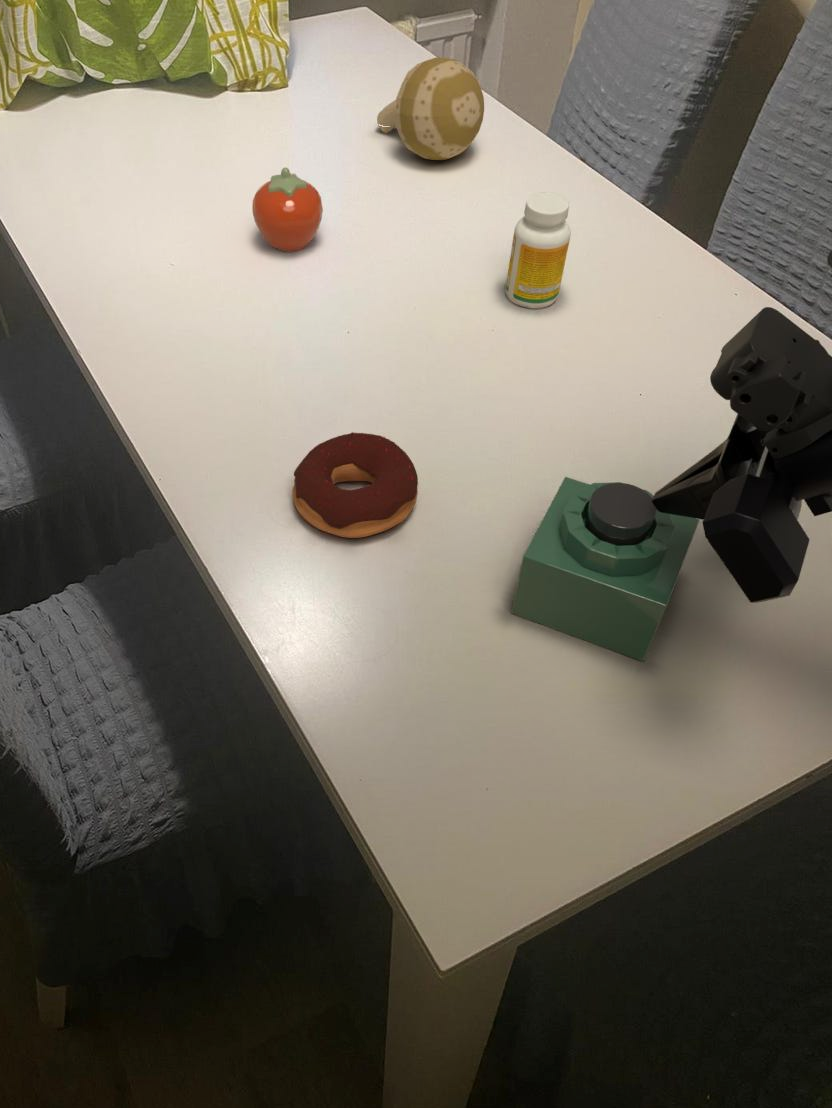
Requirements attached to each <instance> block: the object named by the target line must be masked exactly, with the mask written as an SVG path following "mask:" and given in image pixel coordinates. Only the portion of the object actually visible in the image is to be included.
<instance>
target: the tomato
mask: <svg viewBox="0 0 832 1108" xmlns="http://www.w3.org/2000/svg"><path fill="white" fill-rule="evenodd" d="M251 206H252V208H251V209H252V216H253V220H254V223H255V225H256V228H257V229H258V232H259V234H261V236H262V238H263V239H264V240H265V241H266V243H267V244H269V245H270V246H271V247H273V248H274V249H276V250H279V251H281V252H286V253H295V252H298V251H301V250H303V249H304V248H306V247H307V245H309V244H310V243H311V241H312V240H313V238H314V237H315V236H316V234H317V232H318V230H319V228H320V225H321V223H322V218H323V213H324V212H323V211H324V208H323V202H322V196H321V195H320V192H319V191H318V190H317V189H316V188H315V186H313V185H312V184H311V183H309V182H308V181H306V180H303V179H302V178H300V177H299V176H298V175H297V174H296V173H292V172H291V171H290V169H289V168H288V167H283V168H282V169H281V171H280V174H275V175H271V177H270V180H269V181H267V182H265V183H263V184H262V185H261V186H260V187H259V188H258V189H257V190H256V192H255V194H254V196H253V199H252V205H251Z"/></svg>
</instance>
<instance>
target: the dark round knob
mask: <svg viewBox="0 0 832 1108" xmlns="http://www.w3.org/2000/svg"><path fill="white" fill-rule="evenodd" d="M608 483H609V482H608ZM642 489H643V488H641V487H638V486H637V485H634V484H631V483H626V482H622V483H621V482H620V483H609V484H605V485H603V486H601V487H599V488H597V489H596V490H595V491H594V492H593V494H592V495H591V498H590V502H589V505H588V509H587V513H586V517H585V522H586V526H587V528H588V530H589V531H590V532H591V533H592V534H593V535H594V536H595V537H597V538H598V539H599V540H602V541H605V542H608V543H611V544H614V545H617V546H624V545H635V544H638V543H640V542H642V541H643V540H644V539H645V538H646V537H647V536H648V534H649V532H650V529H651V526H652V524H653V521H654V518H655V515H656V508H655V506H654V505H653V503H652V499H653V498H652V497H651V496H650V495H649V494H648V493H647V492H645V491H644V490H645V489H644V490H642Z"/></svg>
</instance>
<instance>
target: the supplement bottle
mask: <svg viewBox="0 0 832 1108" xmlns="http://www.w3.org/2000/svg"><path fill="white" fill-rule="evenodd" d="M569 210H570V201H569V200H568V199H567V198H566V197H565V196H564V195H561V194H559V193H555V192H549V191H548V192H547V191H546V192H545V191H544V192H537V193H533V194H531V195H530V196H528V197H527V199H526V202H525V206H524V210H523V211H524V212H523V215H524V216H522V217H521V218H520V219H519V220H518V221H517V222H516V224H515V227H514V232H513V237H512V241H511V242H512V243H511V250H510V255H509V263H508V269H507V276H506V284H505V294H506V296H507V298H508V299H509V300H510V301H511V302H512V303H514V304H515V305H518V306H520V307H524V308H527V309H542V308H546V307H549V306H551V305H552V304H554V303H555V302H556V300H557V299H558V298H559V294H560V289H561V285H562V279H563V274H564V270H565V265H566V259H567V256H568V255H567V254H568V250H569V246H570V241H571V236H572V235H571V227H570V224H568V222H567V221H566V220H567V219H568V216H569Z"/></svg>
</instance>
